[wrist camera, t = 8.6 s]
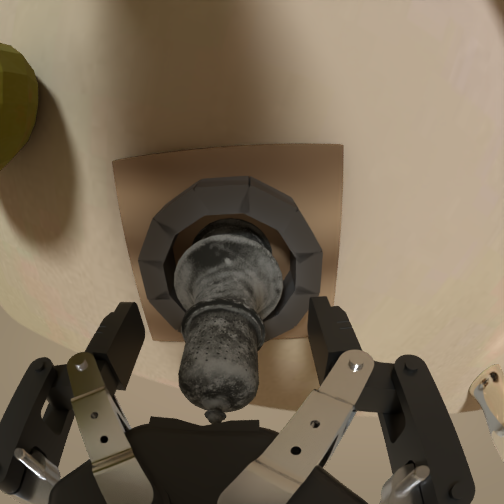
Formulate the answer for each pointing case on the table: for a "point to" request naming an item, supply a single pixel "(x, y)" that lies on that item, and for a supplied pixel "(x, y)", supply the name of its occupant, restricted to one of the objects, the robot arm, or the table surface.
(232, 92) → the table surface
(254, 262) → the chess piece
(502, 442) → the beer glass
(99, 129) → the table surface
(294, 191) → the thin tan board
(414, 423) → the robot arm
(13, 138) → the apple
